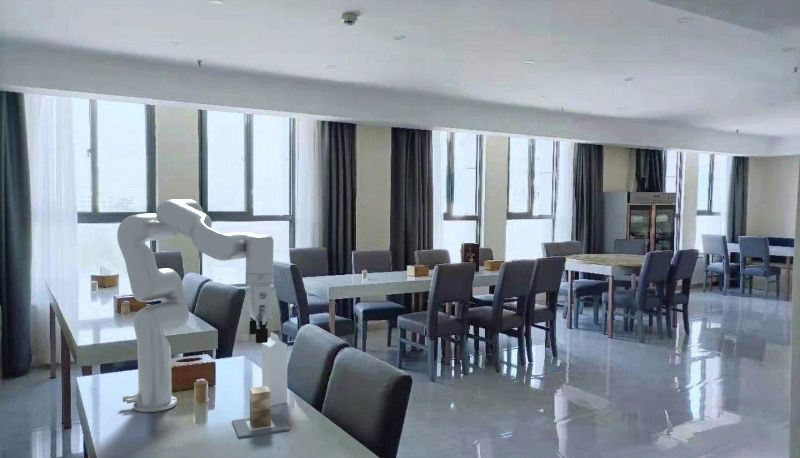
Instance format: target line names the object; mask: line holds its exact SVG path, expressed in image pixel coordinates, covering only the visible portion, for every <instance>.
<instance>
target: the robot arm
mask: <svg viewBox="0 0 800 458" xmlns="http://www.w3.org/2000/svg"><path fill="white" fill-rule="evenodd" d="M203 210H204V209H203V207H202V206H201V204H200V203H198V202H197V201H196V200H193V199H189V198H188V199H186V198H185V199H182V198H181V199H176V198H175V199H167V200H164V201H162V202H160V203H159V204H158V205H157V207H156V209H155V213H137V214H132V215H129V216H127V217H125V218H124V219H122V221H121V222H120V224H119V225H118V229H117V233H116V234H117V235H116V239H117V244H118V246H119V249H120V251H121V254H122V257H123V259H124V262H125V266H126V267H125V268H126V271H127V272H126V273H127V276H128V281H129V284H130V289H131V293H132V295H133V297H134V299H135V300H137V302H139V303H140V302H142V303H145V302H147V303H148V302H152V301H153V302H154V301H156V300H160V303H157V304H156V303H155V304H151V305H148V306H147V305H146V306H144V307H143V308H141V309H139V310H138V311H137V312H136V314H135V315H134V316H133V328H134V329H133V330H134V332H135V337H136V338H135V339H136V344H137V345H136V346H137V375H138V376H137V377H138V379H137V381H138V382H137V383H138V389H137V392H136V393H133V394H131V395H129V394H127V395H122V403H126V404H133V405H132V406H133V410H134V411H136V412H140V413H157V412H161V411H162V412H163V411H165V410H170V409H171V408H174V407H175V406H176V405H177V403H178V399H177V397H176V396H173V394H172V392H173V391H172V386H173V385H172V348H171V345H170V342H169V340H168V338H167V337H166V334H168V333H171V332H175V331H177V330H180V329H182V328H184V327H185V326H186V325H187V324H188V322H189V318H190V311H189V306H188V303H187V302H188V301H187V297H186V294H185V290H184V284H183V281H182V278H181V277H180V274H179V273H178V272H176V271H175V269H172V268H170V267H169V268H168V267H166V268H164V267H163V268H158V266H157V263H156V262H157V261H156V257H155V255H154V252H153V251H152V250H151V248H150V247H149V246H148V245H147V244H146V242H151V241H160V240H161V241H162V240H164V241H165V240H169V239H172V238H175V237H177V236H180V235H183V236H184V237H186V238H188V239H190V240H191V242H192V244H193V245H194V247H195V249H197V250H198V251H199V252H201V253H203V255H206V256H207V257H209V258H212V259H215V260H217V261H223V262H226V261H233V260H240V259H241V260H242V259H245V285H246V286H248V313H249V335H255V343H256V344H262V343H267V342H268V338H269V333H268V332H269V325H268V321H271V320H272V317H273V316H272V292H271V285H273V284H274V245H275V244H274V243H275V242H274V238H273V236H271V235H268V234H254V233H250V232H246V231H245V232H244V231H240V232H239V231H238V232H228V233H223V232H219V231H217V230H214V229H213V228H212V223H213V222H212V218H211V217H210V216H209V214H207V213H205V212H204V211H203Z"/></svg>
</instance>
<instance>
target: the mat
mask: <svg viewBox="0 0 800 458" xmlns="http://www.w3.org/2000/svg"><path fill="white" fill-rule="evenodd" d="M231 423H232V426H233V428H234V431H235V433H236V436H237V438H238V439H244V438H249V437H256V436H261V435H262V436H263V435H267V434H269V435H270V434H274V433H281V432H282V433H283V432H287V431H290V427H289V425H288V423H287V422H286V421H285V419H284V417H283V416H282V414H281V413H280V412H279V413H274V414H273V413H272V414H271V426H267V427H261V428H254V429H253V428H252V426H251V424H250V417H246V418H238V419H233V420H232V421H231Z"/></svg>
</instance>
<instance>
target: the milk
mask: <svg viewBox="0 0 800 458" xmlns="http://www.w3.org/2000/svg"><path fill="white" fill-rule="evenodd" d="M261 360H262V361H261V363H262V364H261V365H262V368H261V369H262V370H261V374H262V375H261V376H262V377H261V378H262V379H261V382H262V384H261V385H262V386H261V387H264V386H268V388H269V390H270V391H271V407H273V406H277V405H282V404H287V403H288V343H285V342H283V341H281V340H280V337H279V334H278V335H277V334H276V333H274V332H270V337H268V342H267V343H261Z"/></svg>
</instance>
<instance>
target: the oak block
mask: <svg viewBox="0 0 800 458" xmlns="http://www.w3.org/2000/svg"><path fill="white" fill-rule="evenodd" d="M250 406H251V409H252V411H258V410H265V409H271V410H272V406H271V391H270V390H269V388H268V386H264V387H262V386H257V387H249V407H250Z"/></svg>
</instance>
